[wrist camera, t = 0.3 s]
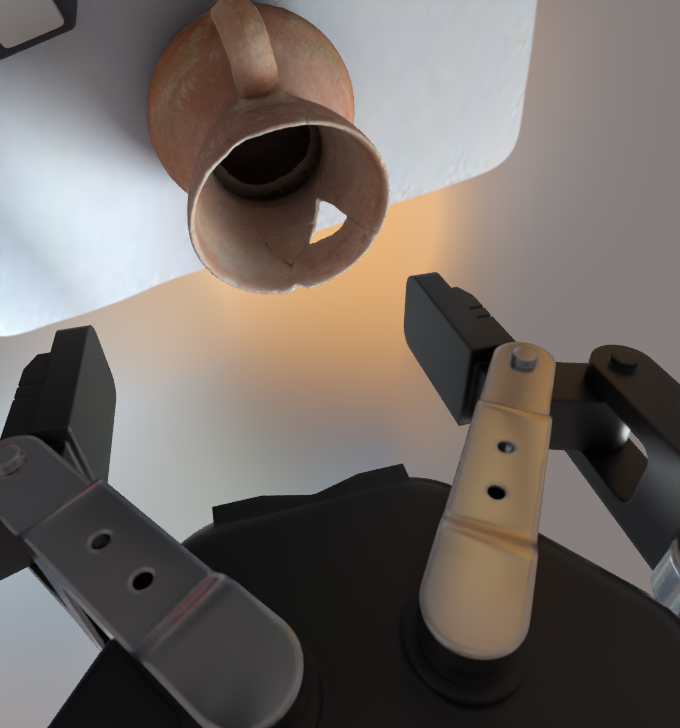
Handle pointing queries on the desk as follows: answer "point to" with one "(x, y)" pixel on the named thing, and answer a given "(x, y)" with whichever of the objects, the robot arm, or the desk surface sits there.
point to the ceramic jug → (265, 147)
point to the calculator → (33, 22)
